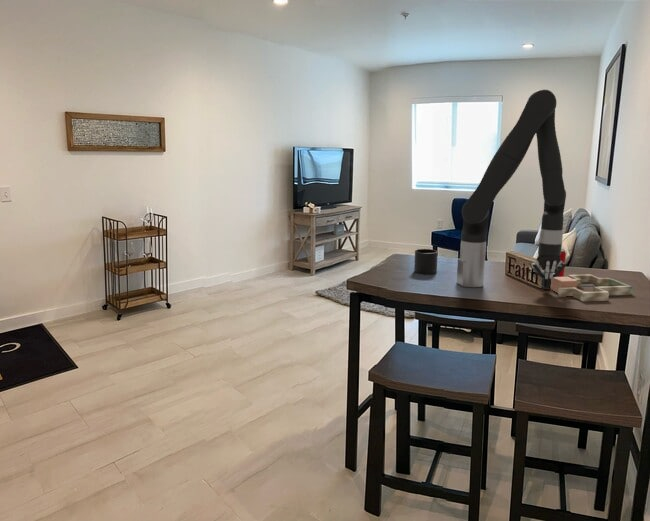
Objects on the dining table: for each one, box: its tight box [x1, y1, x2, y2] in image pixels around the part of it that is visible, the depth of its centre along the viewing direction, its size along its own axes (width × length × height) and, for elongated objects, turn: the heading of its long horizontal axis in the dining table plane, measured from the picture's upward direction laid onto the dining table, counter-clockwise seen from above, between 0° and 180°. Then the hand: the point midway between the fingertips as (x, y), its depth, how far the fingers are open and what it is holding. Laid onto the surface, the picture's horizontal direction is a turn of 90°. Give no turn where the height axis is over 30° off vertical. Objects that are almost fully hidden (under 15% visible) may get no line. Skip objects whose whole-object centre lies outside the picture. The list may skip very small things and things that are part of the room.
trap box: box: [549, 274, 634, 302], centre depth 182 cm, size 27×24×3 cm
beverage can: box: [556, 248, 567, 277], centre depth 199 cm, size 6×6×12 cm
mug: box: [413, 248, 439, 275], centre depth 212 cm, size 9×12×9 cm
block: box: [550, 276, 578, 294], centre depth 181 cm, size 6×6×5 cm
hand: (545, 288), depth 181 cm, fingers closed
